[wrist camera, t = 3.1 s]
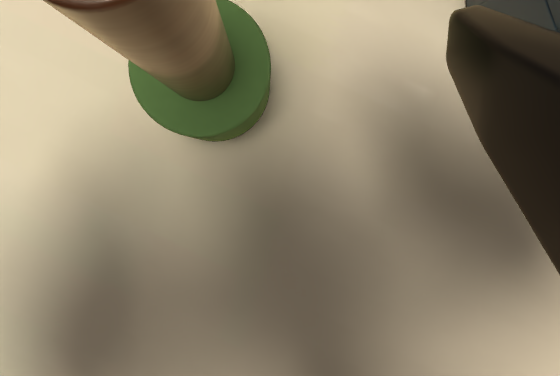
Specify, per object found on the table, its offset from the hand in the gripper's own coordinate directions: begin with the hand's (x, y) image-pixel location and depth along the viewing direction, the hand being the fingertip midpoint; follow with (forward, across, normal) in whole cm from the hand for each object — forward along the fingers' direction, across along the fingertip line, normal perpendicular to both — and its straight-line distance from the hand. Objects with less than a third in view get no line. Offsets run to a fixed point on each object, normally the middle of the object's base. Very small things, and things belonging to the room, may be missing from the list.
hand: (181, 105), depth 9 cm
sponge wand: (+7, 0, +5) cm, 9 cm away
